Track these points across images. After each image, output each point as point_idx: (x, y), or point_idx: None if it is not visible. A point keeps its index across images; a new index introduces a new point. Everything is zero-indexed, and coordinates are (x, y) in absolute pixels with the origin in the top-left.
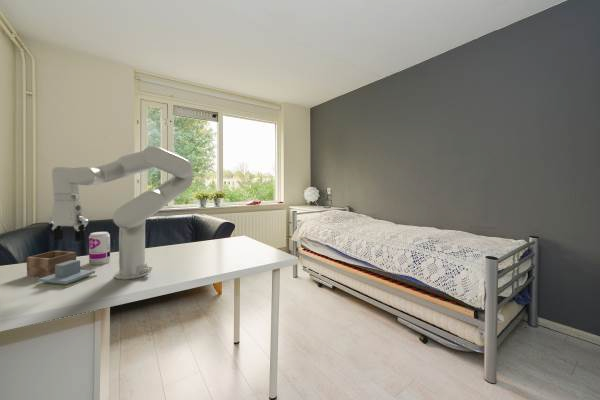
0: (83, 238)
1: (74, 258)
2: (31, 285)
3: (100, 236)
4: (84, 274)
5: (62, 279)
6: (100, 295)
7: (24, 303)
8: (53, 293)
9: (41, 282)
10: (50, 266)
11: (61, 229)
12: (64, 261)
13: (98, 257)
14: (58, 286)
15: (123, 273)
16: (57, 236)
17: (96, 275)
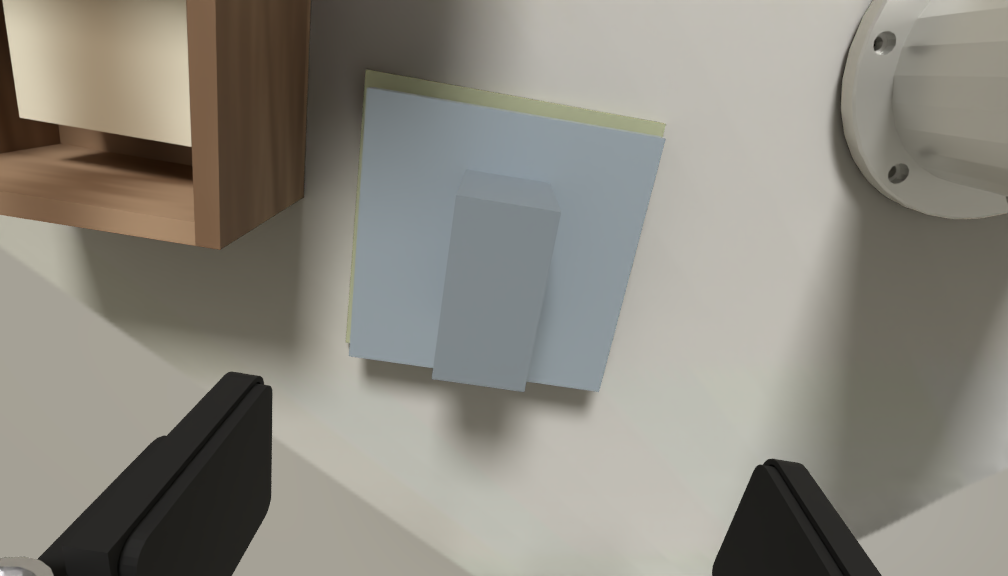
0: (803, 486)
1: None
2: (319, 340)
3: None
4: (634, 245)
5: (540, 359)
6: (887, 467)
7: (537, 553)
8: (584, 449)
9: (350, 310)
10: (261, 219)
11: (112, 571)
12: (255, 59)
13: None
14: None
15: (971, 186)
16: (238, 526)
17: (663, 127)
